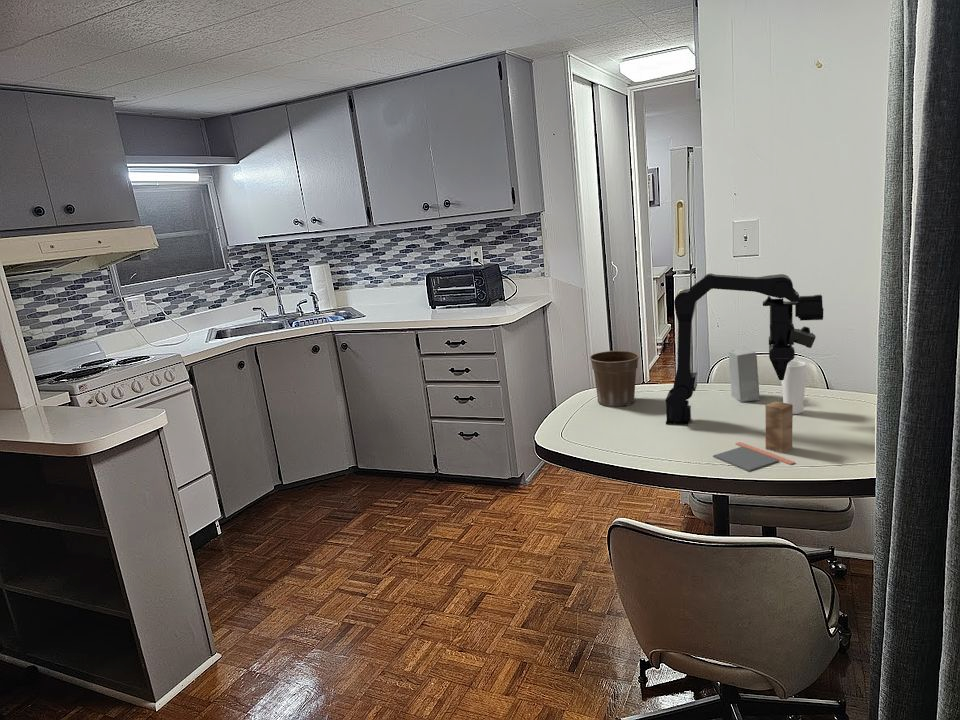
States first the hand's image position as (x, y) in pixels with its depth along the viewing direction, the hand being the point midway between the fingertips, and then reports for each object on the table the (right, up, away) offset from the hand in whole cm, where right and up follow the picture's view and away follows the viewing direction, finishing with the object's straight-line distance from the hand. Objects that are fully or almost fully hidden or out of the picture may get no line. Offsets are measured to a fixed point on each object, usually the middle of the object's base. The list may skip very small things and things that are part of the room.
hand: (780, 375), depth 187 cm
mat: (-17, -21, -17) cm, 32 cm away
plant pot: (-38, -10, +39) cm, 56 cm away
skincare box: (+1, -8, +30) cm, 31 cm away
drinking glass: (+9, -11, +13) cm, 19 cm away
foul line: (-11, -20, -15) cm, 27 cm away
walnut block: (-6, -19, -13) cm, 24 cm away
